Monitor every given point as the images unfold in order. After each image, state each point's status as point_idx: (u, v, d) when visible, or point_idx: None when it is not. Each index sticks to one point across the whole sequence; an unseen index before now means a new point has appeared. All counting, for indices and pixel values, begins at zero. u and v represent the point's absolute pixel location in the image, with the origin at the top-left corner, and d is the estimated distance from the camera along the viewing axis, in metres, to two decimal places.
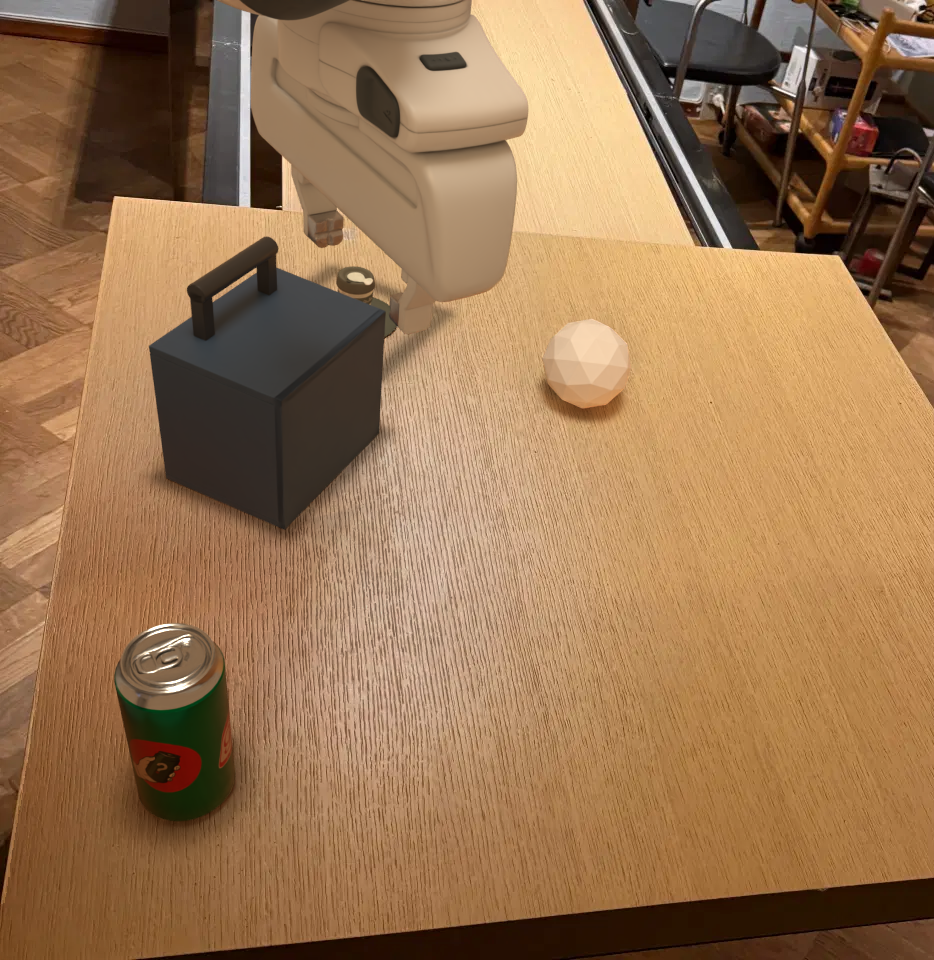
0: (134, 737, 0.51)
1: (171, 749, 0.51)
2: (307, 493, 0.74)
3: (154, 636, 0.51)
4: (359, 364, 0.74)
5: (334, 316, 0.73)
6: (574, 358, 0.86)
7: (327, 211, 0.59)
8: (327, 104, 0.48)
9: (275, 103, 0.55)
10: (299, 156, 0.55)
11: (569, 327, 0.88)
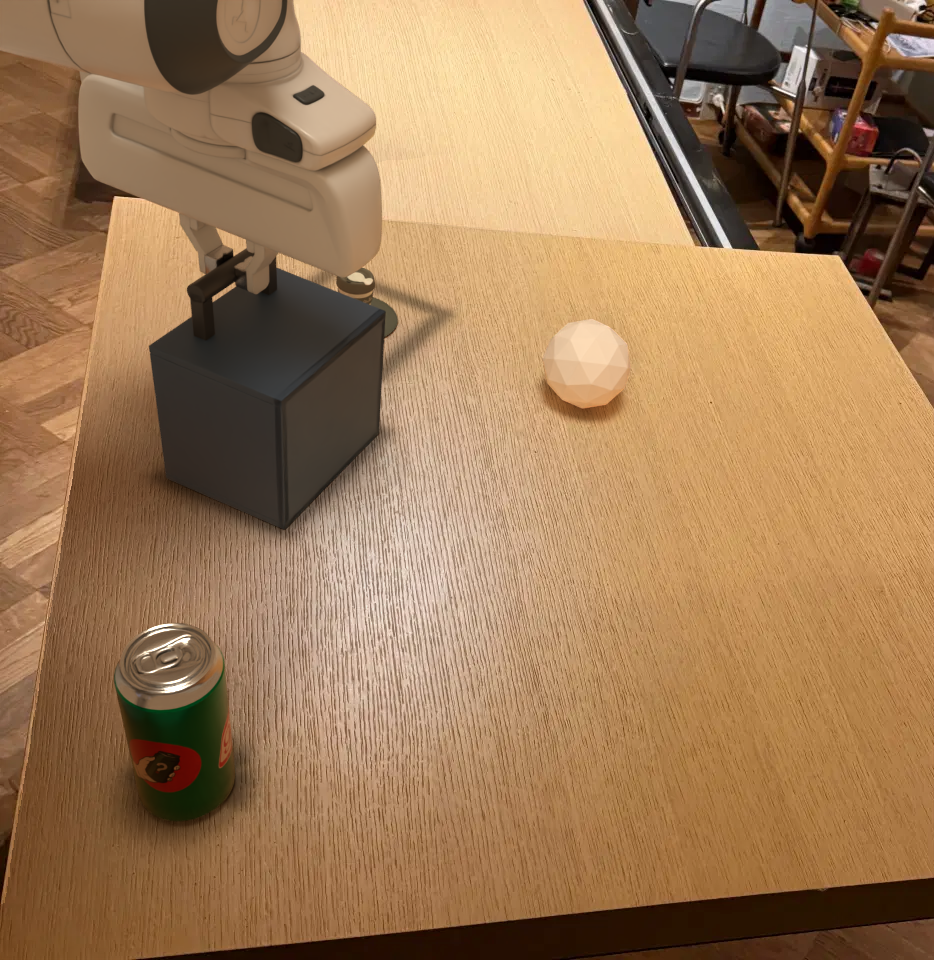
0: (134, 737, 0.51)
1: (171, 749, 0.51)
2: (307, 493, 0.74)
3: (154, 636, 0.51)
4: (359, 364, 0.74)
5: (334, 316, 0.73)
6: (574, 358, 0.86)
7: (216, 247, 0.69)
8: (208, 145, 0.60)
9: (119, 151, 0.64)
10: (157, 191, 0.65)
11: (569, 327, 0.88)
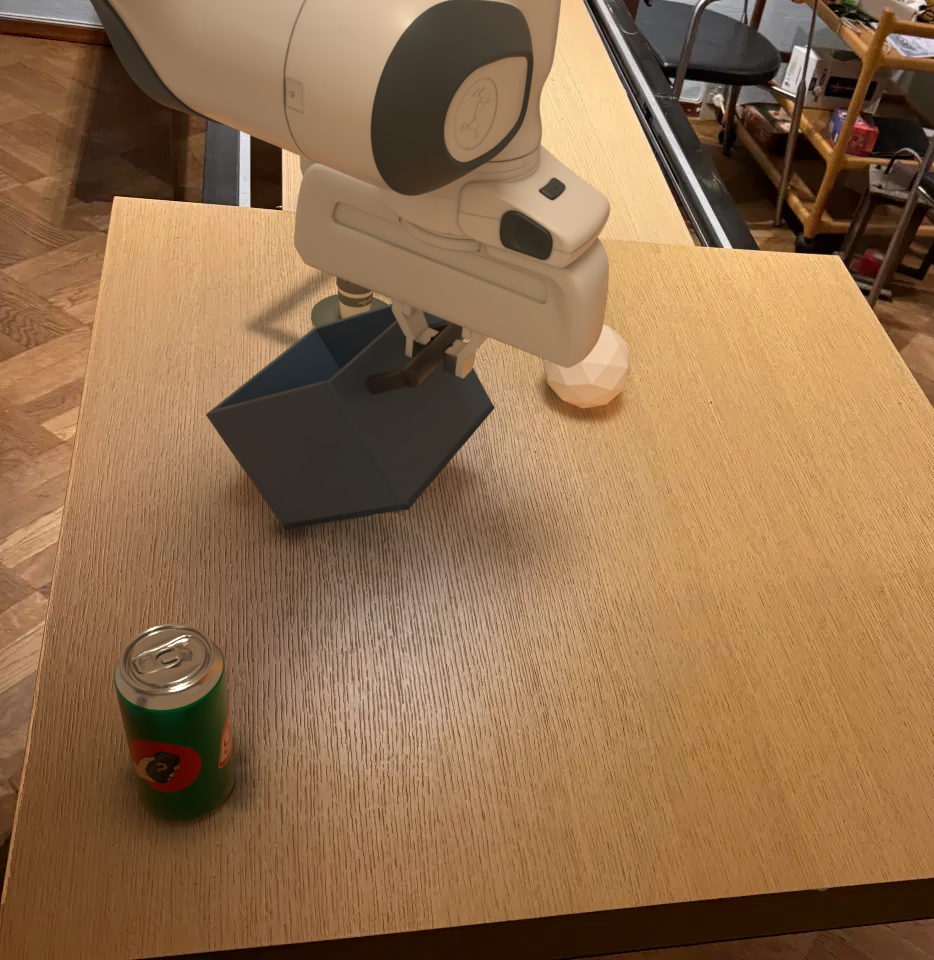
0: (134, 737, 0.51)
1: (171, 749, 0.51)
2: None
3: (154, 636, 0.51)
4: None
5: (462, 400, 0.74)
6: None
7: (422, 330, 0.67)
8: (445, 239, 0.58)
9: (338, 238, 0.62)
10: (375, 278, 0.63)
11: None
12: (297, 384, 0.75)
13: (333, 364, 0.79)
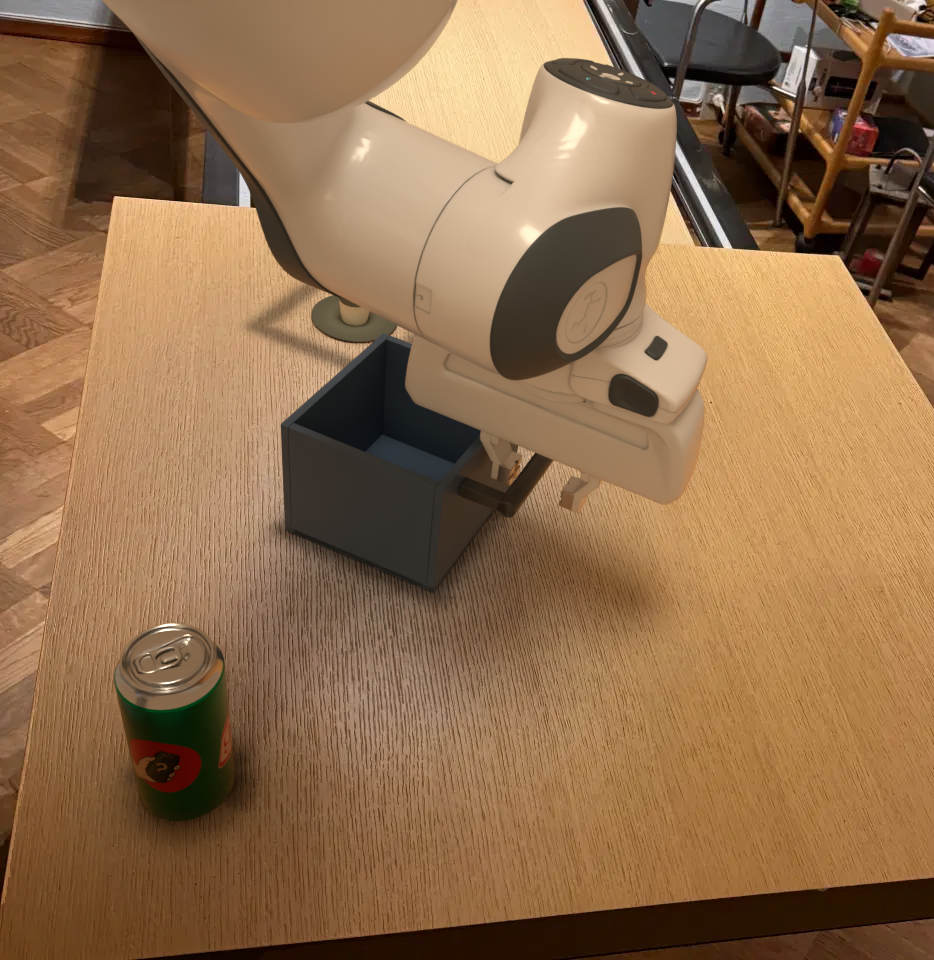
0: (133, 737, 0.51)
1: (171, 749, 0.51)
2: None
3: (154, 636, 0.51)
4: None
5: (499, 485, 0.78)
6: None
7: (507, 454, 0.71)
8: (554, 394, 0.62)
9: (448, 383, 0.66)
10: (482, 419, 0.67)
11: None
12: (352, 395, 0.74)
13: (382, 373, 0.78)
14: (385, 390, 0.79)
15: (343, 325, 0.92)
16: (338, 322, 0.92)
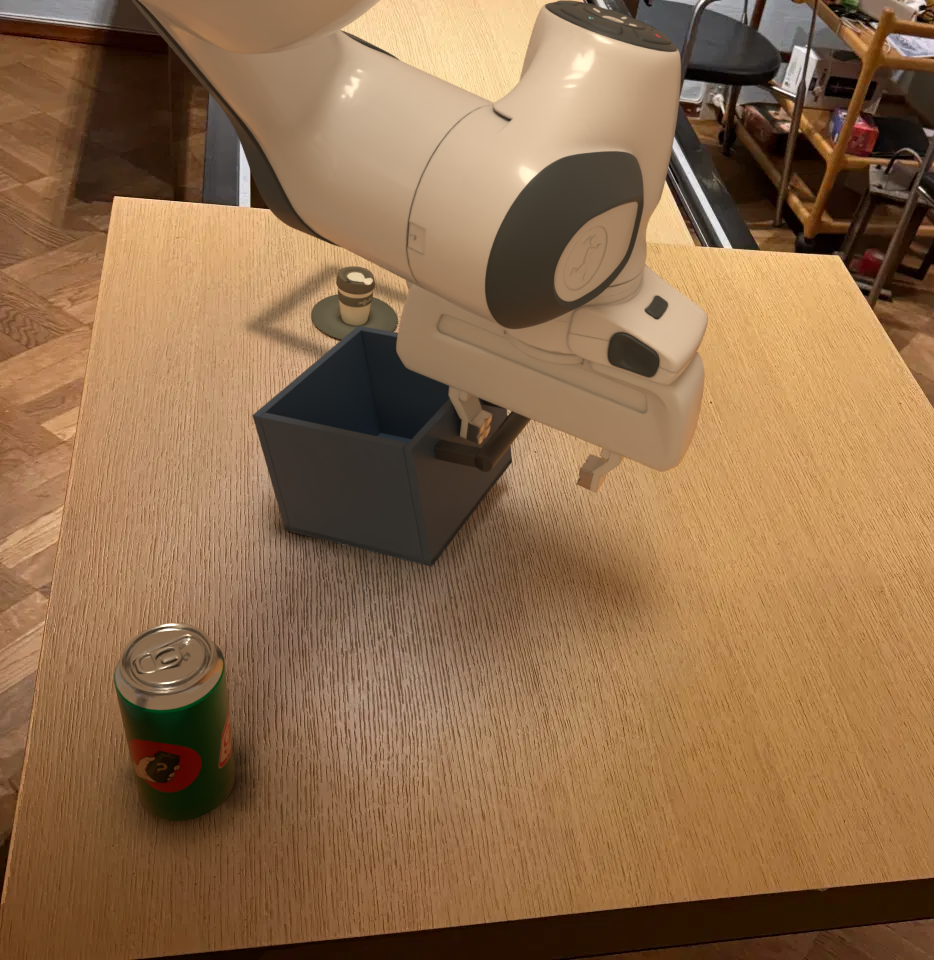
0: (134, 737, 0.51)
1: (171, 749, 0.51)
2: None
3: (154, 636, 0.51)
4: None
5: None
6: None
7: (476, 413, 0.70)
8: (551, 354, 0.60)
9: (441, 346, 0.64)
10: (475, 384, 0.65)
11: None
12: (332, 387, 0.74)
13: (364, 367, 0.78)
14: (372, 385, 0.79)
15: (343, 325, 0.92)
16: (338, 322, 0.92)
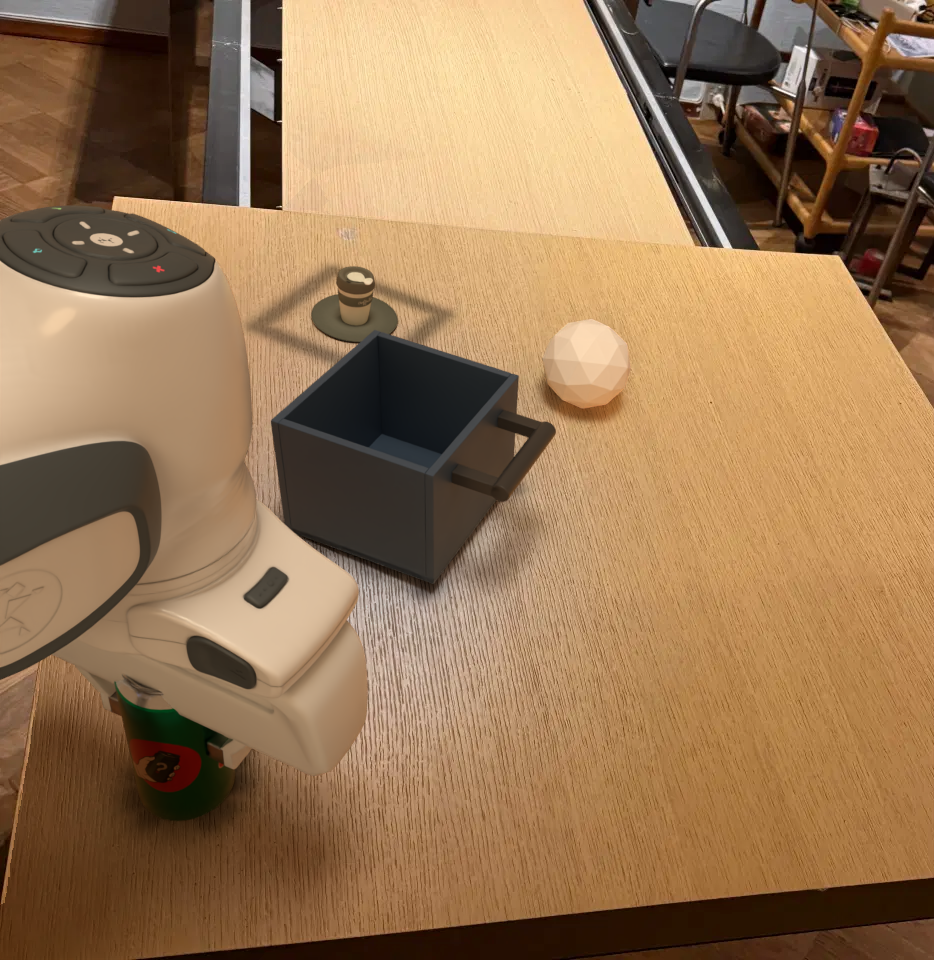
0: (133, 737, 0.51)
1: (171, 749, 0.51)
2: None
3: None
4: None
5: (498, 475, 0.77)
6: (574, 358, 0.86)
7: None
8: None
9: None
10: (73, 655, 0.49)
11: (569, 327, 0.88)
12: (345, 392, 0.74)
13: (376, 371, 0.78)
14: (381, 388, 0.79)
15: (343, 325, 0.92)
16: (338, 322, 0.92)
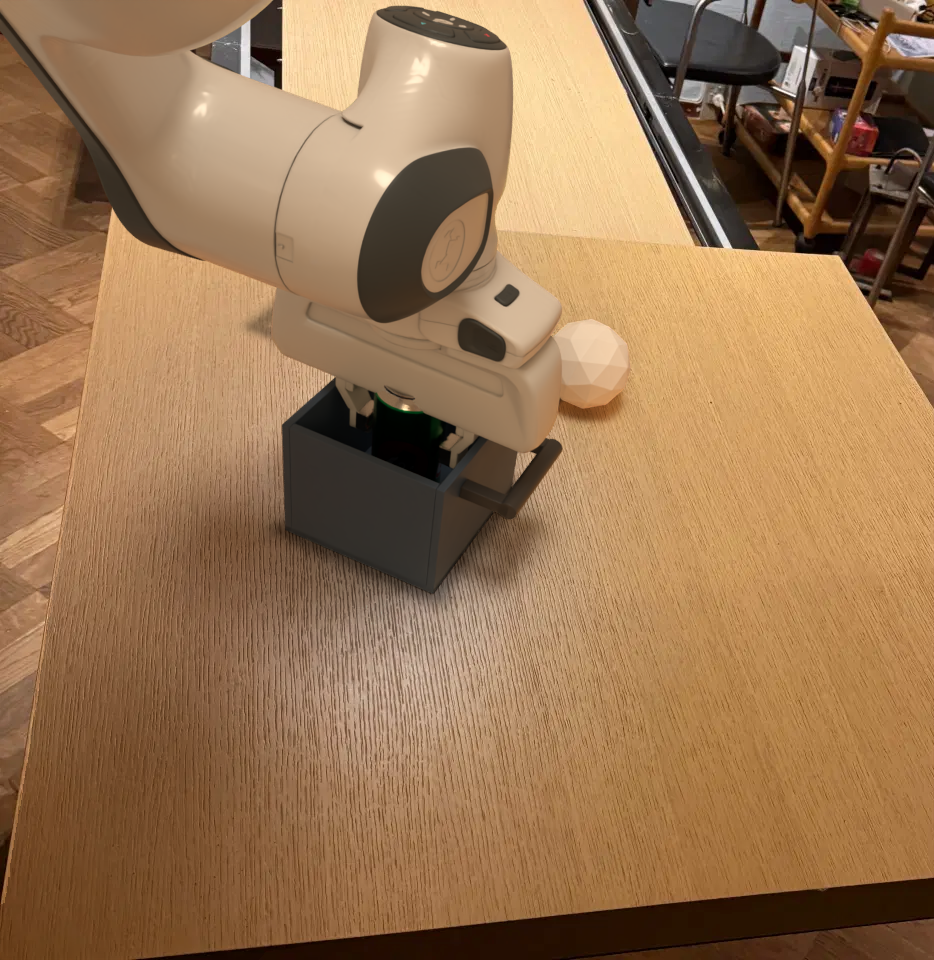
0: (385, 439, 0.70)
1: (412, 449, 0.70)
2: None
3: None
4: None
5: (499, 486, 0.78)
6: (574, 358, 0.86)
7: (365, 402, 0.72)
8: (409, 340, 0.63)
9: (312, 333, 0.67)
10: (346, 369, 0.68)
11: (569, 327, 0.88)
12: None
13: None
14: None
15: None
16: None
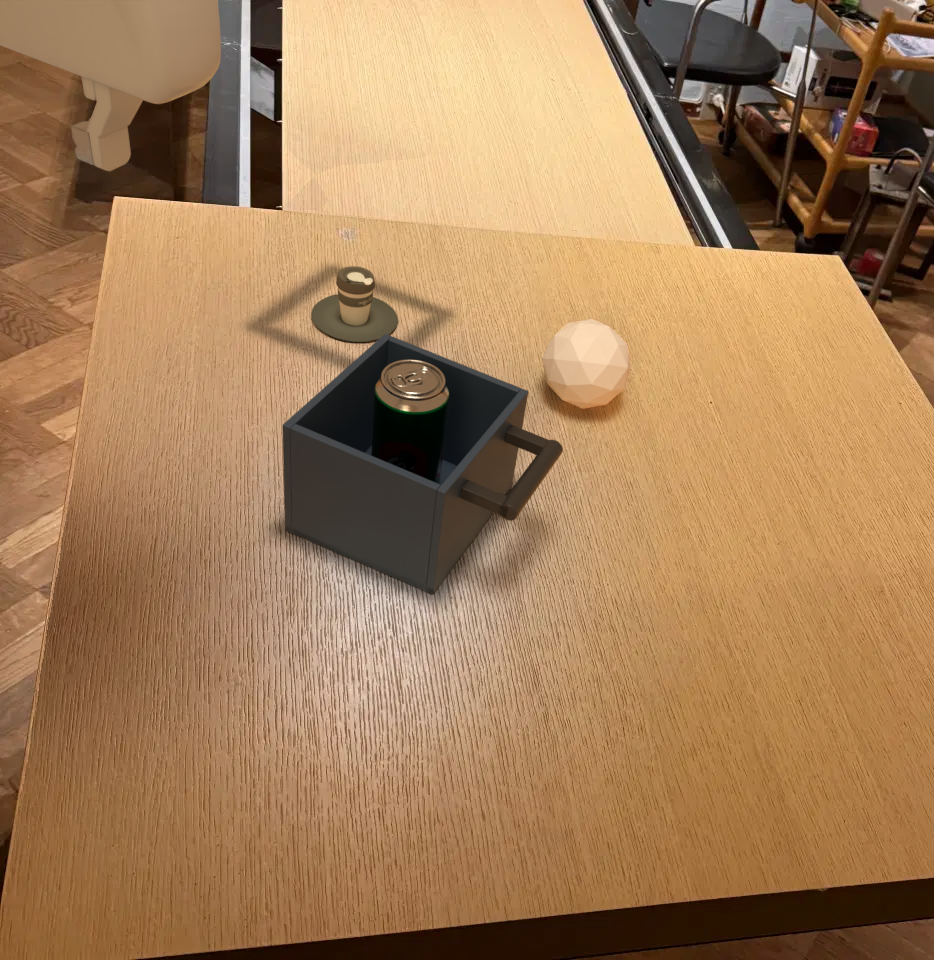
0: (385, 440, 0.70)
1: (412, 450, 0.70)
2: None
3: (401, 366, 0.70)
4: None
5: (499, 486, 0.78)
6: (574, 358, 0.86)
7: None
8: None
9: None
10: None
11: (569, 327, 0.88)
12: (354, 395, 0.74)
13: None
14: None
15: (343, 325, 0.92)
16: (338, 322, 0.92)
